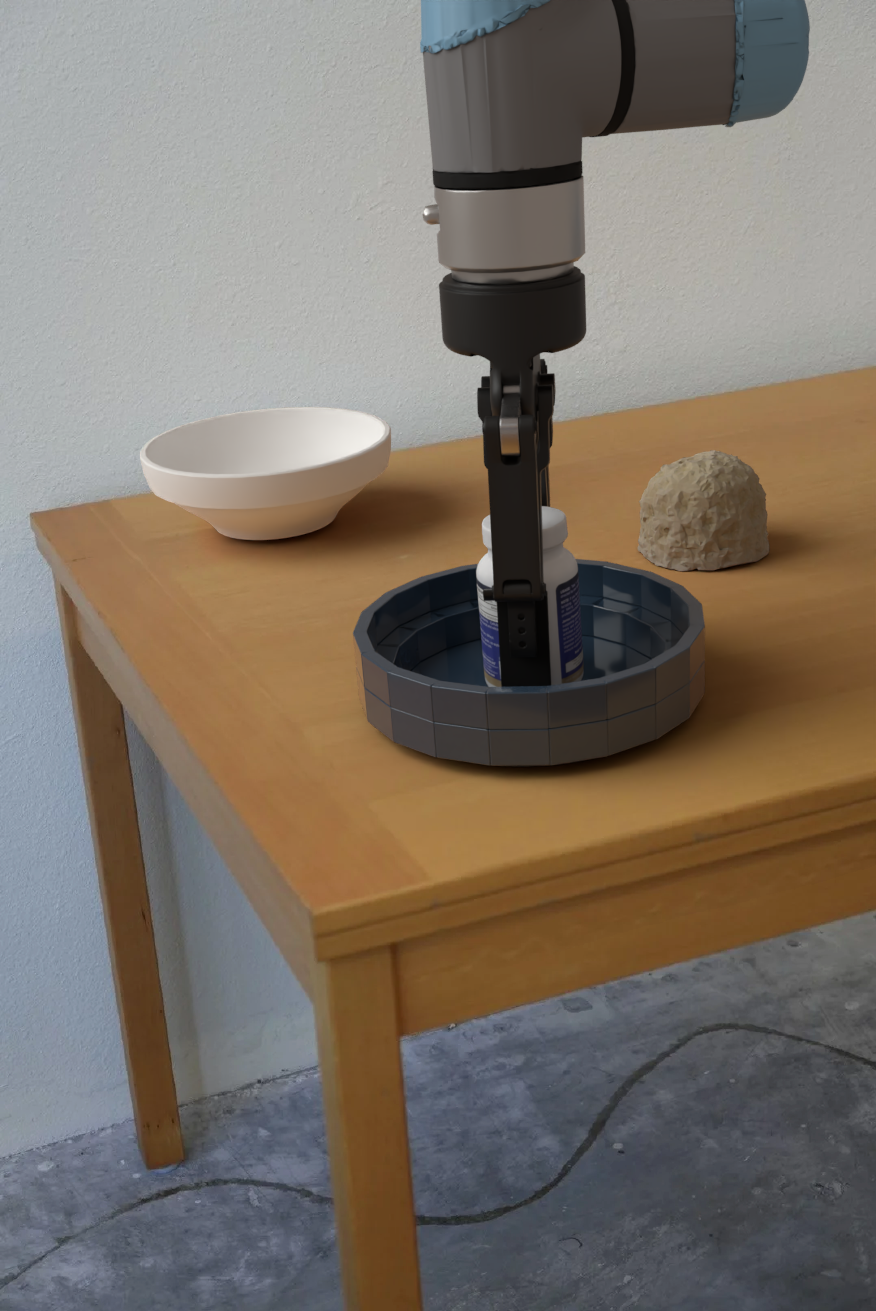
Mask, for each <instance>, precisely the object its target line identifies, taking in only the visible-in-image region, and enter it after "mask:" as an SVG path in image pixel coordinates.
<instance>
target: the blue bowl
mask: <svg viewBox="0 0 876 1311" xmlns="http://www.w3.org/2000/svg"><path fill="white" fill-rule="evenodd" d="M575 559H576V561H577V566H578V576H579V595H580V613H581V630H582V646H583V677H582V680H581V681H577V682H570V683H564V684H557V685H550V686H516V687H489V686H488V685H487V683H486V680H485V674H484V664H483V652H482V639H481V627H480V615H479V603H478V591H477V576H476V570H477V566H478V563H472V564H466V565H460V566H456V567H452V568H448V569H446V570H441V571H437V572H434V573H430V574H426V575H422V576H419V577H417V578H415V579H412V580H410V581H408V582H406V583H404V584H402V585H398V586H397V587H394V588H393V589H390V590H388V591H386V592H384V593H382V594H381V595H380V596H379V597H378V598H377V599H375V600H374V601H373V602H372V603H371V604H369V605H368V606H367V607H365V608H364V609H362V611H361V612H360V614H359V616H358V619H357V621H356V624H355V627H354V628H353V631H352V638H353V640H352V641H353V650H354V659H355V661H354V662H355V666H356V667H355V672H356V680H357V681H356V682H357V692H358V699H359V703H360V705H361V707H362V711H363V713H364V716H365V719H366V721H367V723H369V725H371V726H372V727H374V728H375V729H376V730H378V731H379V732H380V733H381V734H383V735H384V736H385V737H387V738H388V739H389V740H390V741H392V743H395V744H397V745H400V746H403V747H405V748H408V749H412V750H413V751H417V752H419V753H422V754H424V755H428V756H430V757H433V758H437V759H443V760H450V761H458V762H464V763H470V764H476V765H482V766H491V767H492V766H493V767H494V766H495V767H509V768H510V767H512V768H528V767H529V768H531V767H547V766H548V767H549V766H558V765H566V764H573V763H579V762H584V761H589V760H593V759H594V760H595V759H599V758H606V757H608V756H612V755H615V754H618V753H621V752H624V751H627V750H630V749H633V748H635V747H639V746H641V745H645V744H647V743H650V742H653V741H655V740H658V739H660V738H661V737H662V736H664V735H666V734H667V733H669V732H670V731H672V730H673V729H675V728H676V727H678V726H680V725H681V724H683V723H685V722H686V721H687V720H689V719H690V717H691V716H692V714H693V713H694V711H695V709H696V708H697V707H698V705H699V703H700V702H701V700H702V699H703V697H704V696H705V693H706V683H705V682H706V680H705V679H706V624H705V614H704V608H703V604H702V603H701V602H700V600H698V599H697V598H696V597H695V596H694V595H693V594H692V593H691V592H690V591H689V590H688V589H687V588H686V587H685V586H684V585H682V584H680V583H677V582H675V581H673V580H671V579H668V578H666V577H664V576H662V575H659V574H658V573H655V572H653V571H651V570H650V571H649V570H646V569H641V568H637V567H632V566H628V565H623V564H620V563H615V562H611V561H606V560H595V559H594V560H593V559H582V558H575Z"/></svg>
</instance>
